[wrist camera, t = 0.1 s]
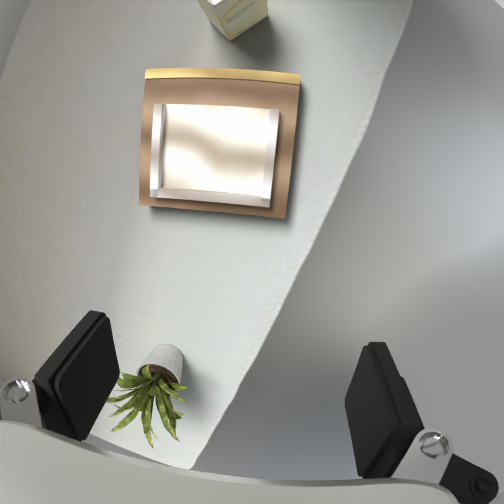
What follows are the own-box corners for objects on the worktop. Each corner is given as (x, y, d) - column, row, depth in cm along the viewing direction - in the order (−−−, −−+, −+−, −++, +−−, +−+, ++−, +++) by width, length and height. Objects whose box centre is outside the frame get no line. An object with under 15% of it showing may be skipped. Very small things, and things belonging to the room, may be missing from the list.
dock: (155, 73, 35) (141, 67, 31) (298, 79, 34) (301, 72, 30) (147, 200, 41) (134, 208, 37) (284, 212, 41) (285, 222, 36)
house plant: (119, 367, 53) (84, 432, 37) (126, 309, 48) (78, 375, 32) (193, 394, 53) (172, 466, 38) (211, 339, 48) (189, 418, 33)
